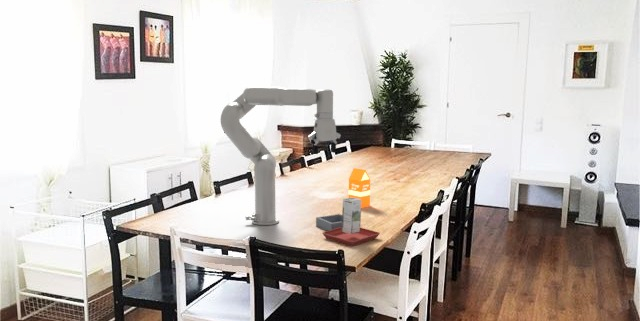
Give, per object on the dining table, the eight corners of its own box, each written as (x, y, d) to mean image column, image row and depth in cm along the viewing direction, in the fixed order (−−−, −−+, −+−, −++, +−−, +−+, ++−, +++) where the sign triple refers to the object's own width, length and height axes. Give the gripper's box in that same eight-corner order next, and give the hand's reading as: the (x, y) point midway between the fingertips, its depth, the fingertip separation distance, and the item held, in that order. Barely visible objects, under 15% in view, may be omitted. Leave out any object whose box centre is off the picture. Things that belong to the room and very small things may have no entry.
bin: (331, 232, 240) (331, 223, 240) (316, 225, 251) (316, 217, 251) (355, 228, 247) (355, 219, 247) (339, 222, 258) (339, 213, 258)
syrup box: (350, 229, 235) (351, 196, 234) (360, 232, 231) (361, 198, 230) (341, 231, 232) (342, 198, 230) (351, 234, 227) (352, 200, 226)
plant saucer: (352, 249, 219) (352, 241, 219) (321, 239, 232) (321, 232, 231) (380, 240, 232) (381, 232, 231) (349, 231, 244) (349, 224, 244)
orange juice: (357, 203, 299) (358, 167, 296) (370, 205, 292) (370, 169, 289) (348, 205, 293) (348, 168, 290) (360, 208, 287) (361, 170, 284)
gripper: (312, 117, 243) (312, 155, 245) (344, 116, 252) (344, 152, 254) (304, 116, 249) (304, 153, 251) (336, 115, 258) (335, 150, 260)
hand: (324, 153), depth 253 cm, fingers open, 9 cm apart
